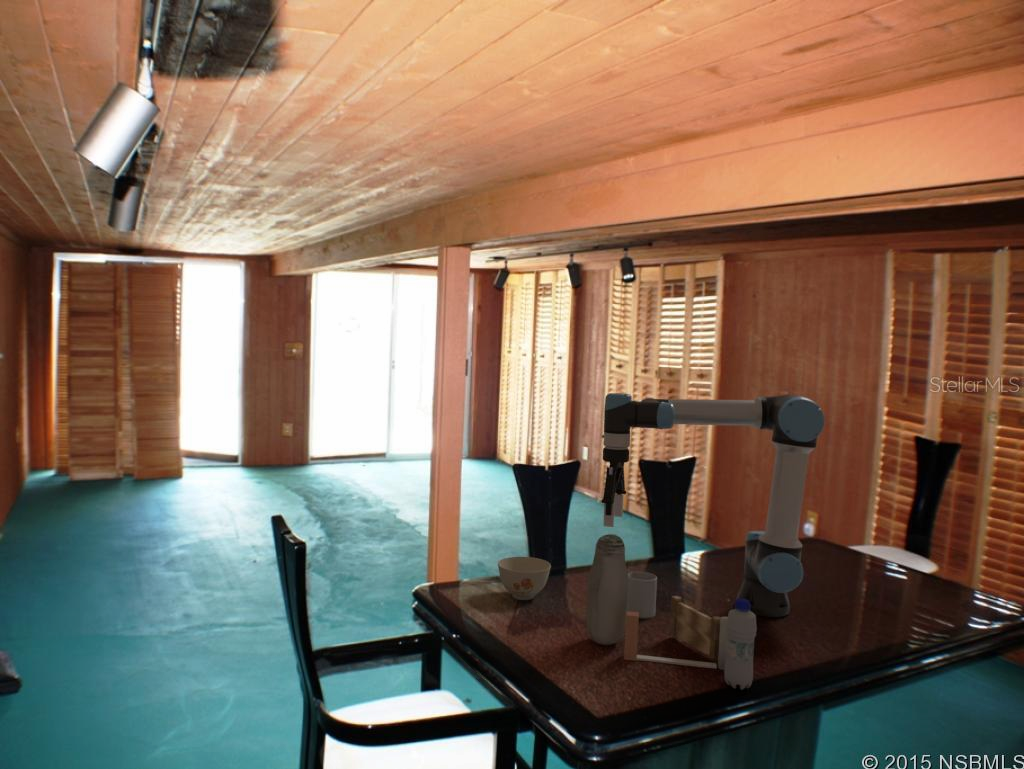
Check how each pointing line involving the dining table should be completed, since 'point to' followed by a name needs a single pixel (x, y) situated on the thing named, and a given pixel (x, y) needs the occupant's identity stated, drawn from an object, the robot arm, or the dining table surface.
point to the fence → (631, 654)
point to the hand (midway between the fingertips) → (613, 521)
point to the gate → (695, 627)
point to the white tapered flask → (607, 591)
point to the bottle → (740, 645)
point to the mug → (642, 594)
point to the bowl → (523, 576)
